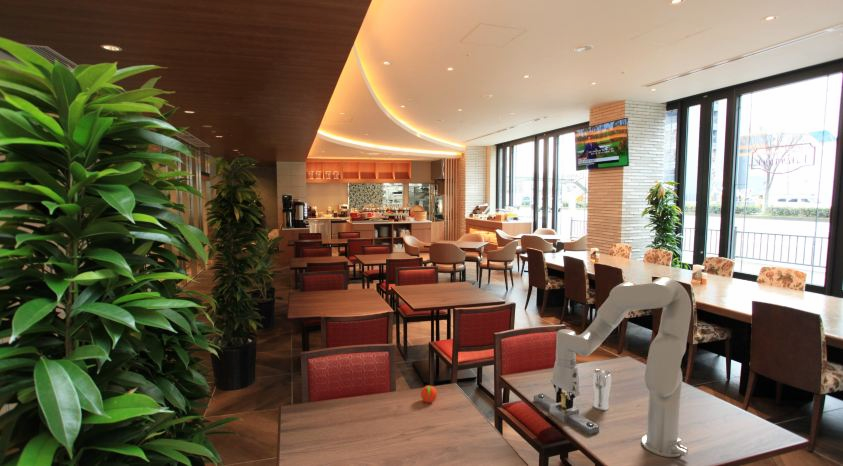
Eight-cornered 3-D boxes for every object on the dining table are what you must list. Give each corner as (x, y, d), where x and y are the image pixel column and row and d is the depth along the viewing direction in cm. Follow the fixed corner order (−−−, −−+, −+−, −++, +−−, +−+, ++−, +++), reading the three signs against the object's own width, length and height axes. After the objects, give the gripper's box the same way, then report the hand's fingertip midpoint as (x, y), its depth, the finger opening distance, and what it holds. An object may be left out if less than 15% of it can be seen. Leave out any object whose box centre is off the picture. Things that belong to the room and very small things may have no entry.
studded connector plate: (601, 430, 163) (602, 421, 163) (586, 436, 159) (587, 427, 159) (545, 397, 190) (545, 389, 189) (530, 401, 186) (531, 393, 186)
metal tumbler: (606, 403, 185) (608, 369, 183) (612, 411, 178) (613, 376, 176) (590, 402, 185) (591, 368, 184) (594, 410, 178) (596, 375, 177)
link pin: (570, 416, 174) (571, 394, 173) (564, 418, 172) (564, 396, 171) (564, 412, 177) (564, 391, 176) (558, 414, 175) (558, 393, 174)
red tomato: (437, 407, 182) (437, 390, 181) (420, 406, 182) (420, 390, 181) (436, 398, 190) (436, 382, 189) (421, 397, 190) (421, 382, 189)
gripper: (589, 366, 167) (587, 412, 168) (557, 352, 182) (555, 394, 183) (575, 370, 163) (573, 416, 165) (543, 355, 178) (542, 398, 180)
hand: (564, 404), depth 174 cm, fingers open, 4 cm apart
